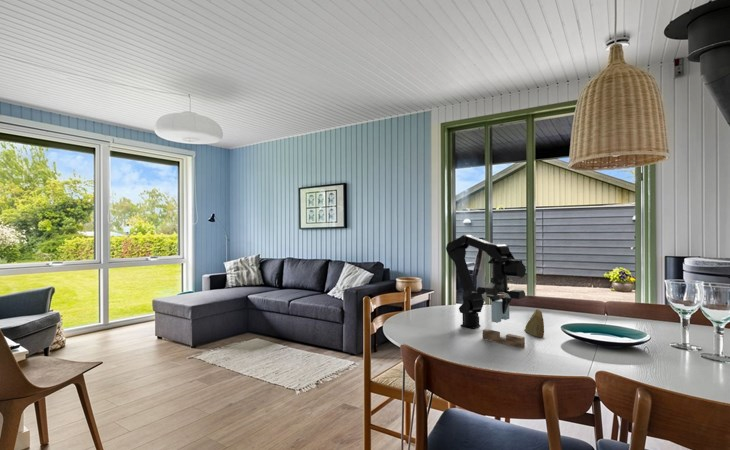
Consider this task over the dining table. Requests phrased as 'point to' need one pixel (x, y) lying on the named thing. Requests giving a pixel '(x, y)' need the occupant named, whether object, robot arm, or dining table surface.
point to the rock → (535, 324)
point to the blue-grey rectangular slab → (498, 311)
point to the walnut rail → (509, 340)
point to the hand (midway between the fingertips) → (500, 313)
